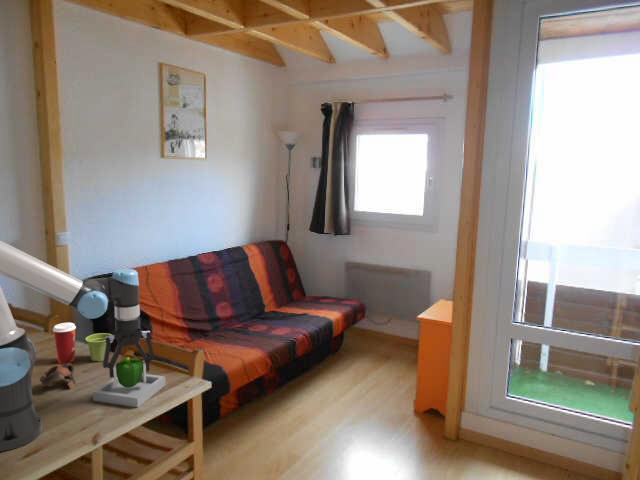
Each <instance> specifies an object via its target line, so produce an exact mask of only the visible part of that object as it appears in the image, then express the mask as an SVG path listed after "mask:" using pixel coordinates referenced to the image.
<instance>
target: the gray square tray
mask: <svg viewBox="0 0 640 480" xmlns="http://www.w3.org/2000/svg"><path fill="white" fill-rule="evenodd" d="M116 378H117V375H116ZM166 379H167V378H166V376H163V375H157V374H155V375H154V374H148V373H146V382H145V383H144V381H143V373H142V377H141V380H140V382H139V383H137V384H136V385H135V386H133V387H124V386H122V385H121V384H120V383H119V381H118V378H117V388H114V377H112V378H111V379H110V380H109V381H107V382H106V383H104V384H102V385H101V386H100V387H98V388H96V389H95V390H93V391H92V399H93V402H99V403H104V404H105V403H106V404H107V403H108V404H112V405H119V406H125V407H130V408H131V407H133V408H139V407H140V406H142V405H143V404H144V403H146V402H147V401H148V400H149V399H150V398H151V397H153V396H154V395H155V394H156V393H158V392H159V391H161V390H162V389H163V388H164V387H166V385H167V384H166V383H167V382H166Z"/></svg>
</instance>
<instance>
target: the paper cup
mask: <svg viewBox="0 0 640 480" xmlns="http://www.w3.org/2000/svg"><path fill="white" fill-rule="evenodd" d="M76 328H77V326H76V325H75V323H73V322H62V323H58V324H55V325H54V327H53V328H52V331H53V335H54V342H55V349H56V355H57V362H58V363H59V364H67V363H70V364H71V363H73V362H74V361H75V359H76Z"/></svg>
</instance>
